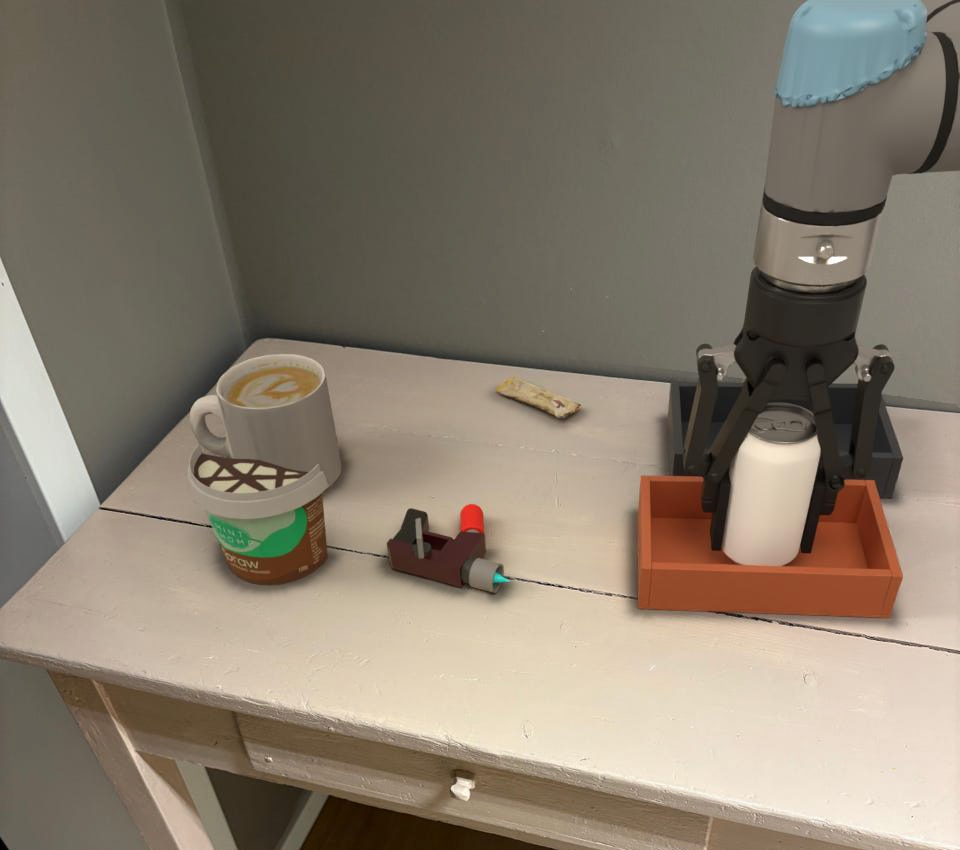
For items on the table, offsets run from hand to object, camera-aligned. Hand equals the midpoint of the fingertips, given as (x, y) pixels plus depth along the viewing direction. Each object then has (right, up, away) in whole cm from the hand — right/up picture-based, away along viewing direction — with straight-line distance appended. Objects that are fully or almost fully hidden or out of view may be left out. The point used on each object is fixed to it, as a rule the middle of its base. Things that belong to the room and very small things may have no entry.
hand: (759, 541), depth 82 cm
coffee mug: (-43, +8, +15) cm, 47 cm away
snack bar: (-17, +17, +22) cm, 32 cm away
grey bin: (+5, +9, +13) cm, 16 cm away
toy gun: (-25, -1, +5) cm, 25 cm away
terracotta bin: (0, -2, +2) cm, 2 cm away
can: (0, -1, +1) cm, 1 cm away
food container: (-42, -2, +4) cm, 42 cm away
